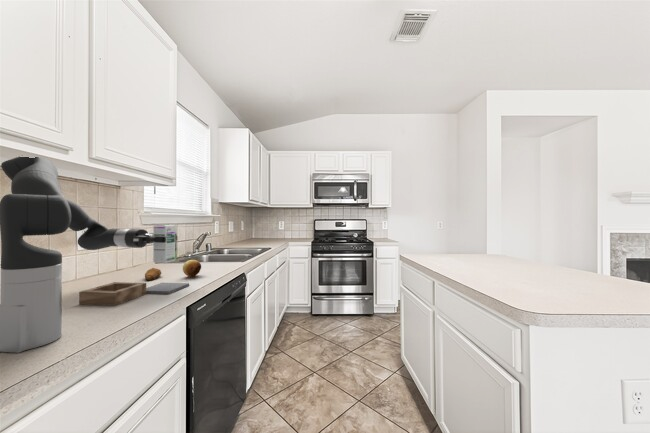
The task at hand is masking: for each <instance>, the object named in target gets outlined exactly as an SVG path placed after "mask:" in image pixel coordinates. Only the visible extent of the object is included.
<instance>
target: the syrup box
mask: <svg viewBox="0 0 650 433" xmlns="http://www.w3.org/2000/svg"><path fill="white" fill-rule="evenodd" d="M152 230H153V231H152V233H153V236H156V237H166V242H165V243H158V242H155V243H152V244H153V246H152V247H153V251H152V252H153V253H152V255H153V258H152V260H153V261H152V262H153V263H158V264H167V263H171V262H172V263H173V262H176V261H177V260H178V258H177V256H178V255H177V252H178V246H177V245H178V244H177V243H178V242H177V241H178V235H177V234H178V226H177V225H176V224H156V225H153V227H152Z"/></svg>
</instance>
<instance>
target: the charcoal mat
mask: <svg viewBox="0 0 650 433" xmlns="http://www.w3.org/2000/svg"><path fill="white" fill-rule="evenodd" d="M187 287H190V283H189V282H188V283H187V282H183V283H182V282H160V283H156V284H154V285H151V286H148V287H146V294H148V295H149V294H152V295H154V294H155V295H171V294H173V293H176V292H178V291H180V290H183V289H185V288H187Z"/></svg>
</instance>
